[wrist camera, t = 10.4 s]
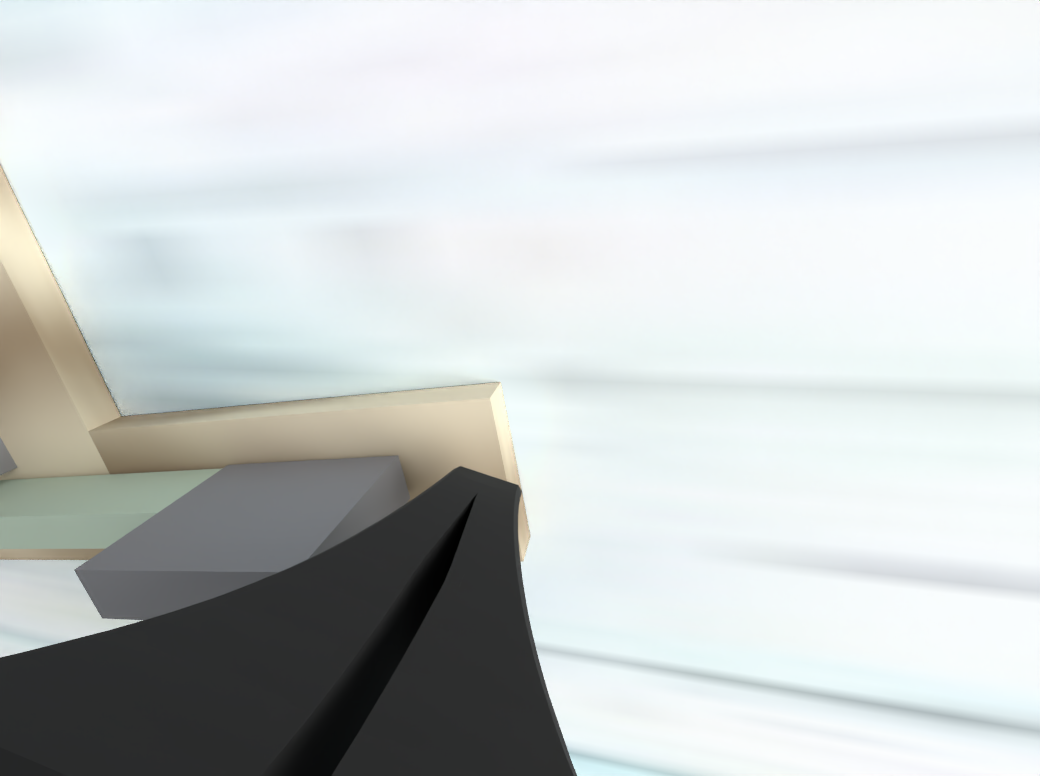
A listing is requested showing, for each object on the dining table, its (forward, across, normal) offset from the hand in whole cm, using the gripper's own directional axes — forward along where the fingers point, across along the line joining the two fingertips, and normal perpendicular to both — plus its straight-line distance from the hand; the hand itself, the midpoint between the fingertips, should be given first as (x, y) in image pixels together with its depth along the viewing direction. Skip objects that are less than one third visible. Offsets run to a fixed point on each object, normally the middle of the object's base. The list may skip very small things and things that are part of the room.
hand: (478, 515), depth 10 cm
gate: (+2, +9, +4) cm, 10 cm away
